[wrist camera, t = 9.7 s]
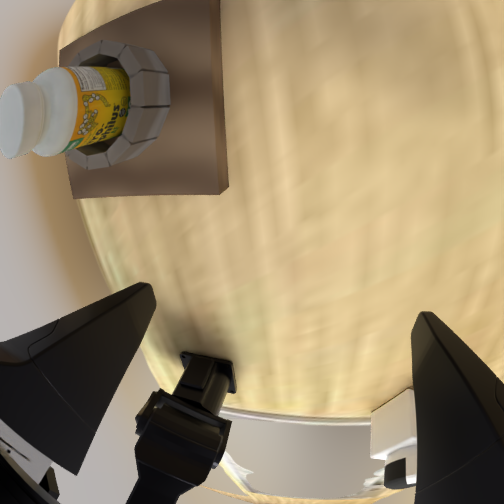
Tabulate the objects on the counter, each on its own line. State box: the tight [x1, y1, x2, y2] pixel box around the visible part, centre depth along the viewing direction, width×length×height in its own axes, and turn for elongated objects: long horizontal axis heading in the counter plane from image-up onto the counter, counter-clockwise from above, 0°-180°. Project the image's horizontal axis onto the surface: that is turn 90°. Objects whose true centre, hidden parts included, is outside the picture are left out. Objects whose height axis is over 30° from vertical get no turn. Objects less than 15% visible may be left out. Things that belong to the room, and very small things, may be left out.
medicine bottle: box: [370, 389, 417, 489], centre depth 22 cm, size 7×7×12 cm
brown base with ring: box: [59, 0, 229, 199], centre depth 15 cm, size 15×15×5 cm
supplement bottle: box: [0, 66, 131, 159], centre depth 12 cm, size 5×5×10 cm
